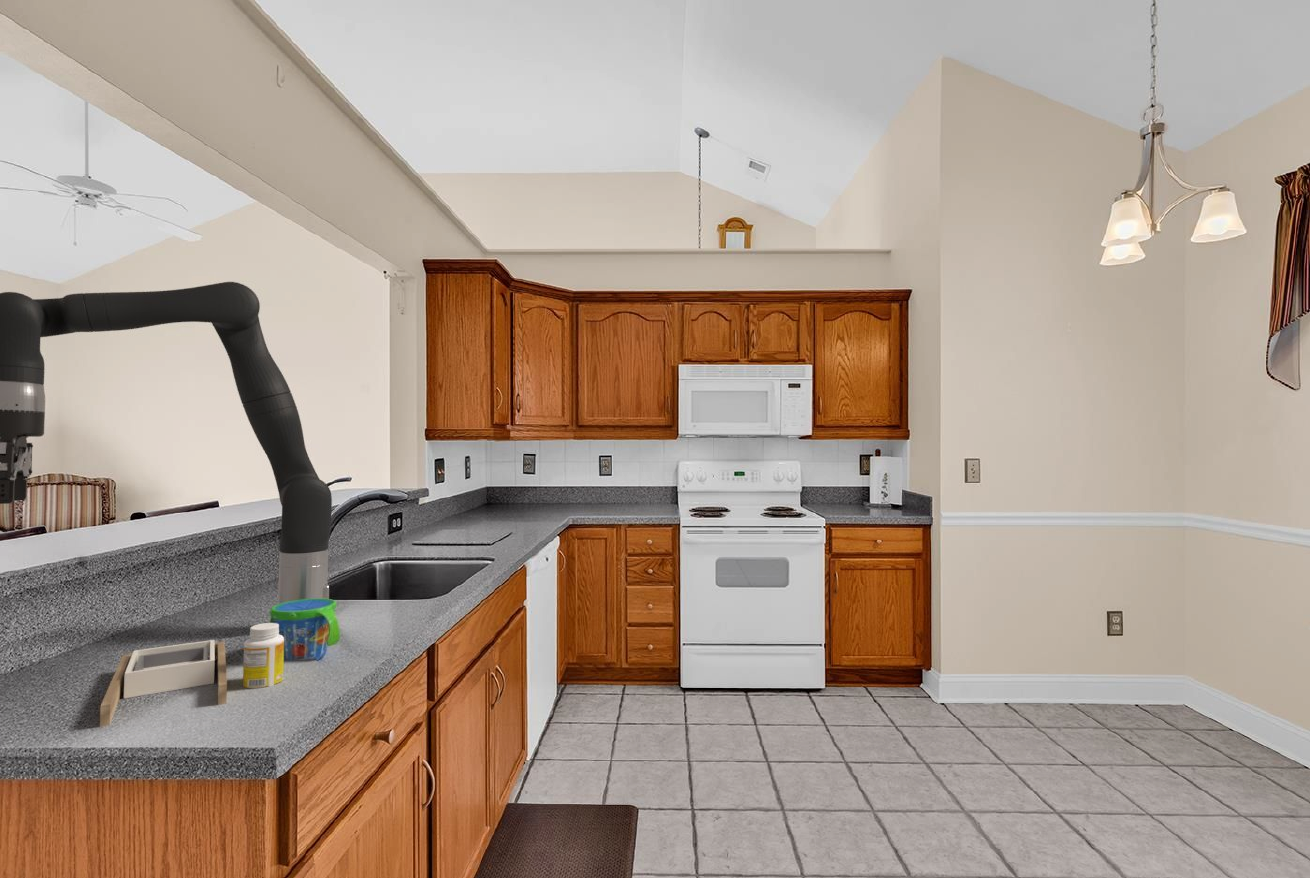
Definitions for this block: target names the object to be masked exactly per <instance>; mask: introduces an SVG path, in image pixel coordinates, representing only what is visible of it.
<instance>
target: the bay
mask: <svg viewBox="0 0 1310 878" xmlns="http://www.w3.org/2000/svg"><path fill="white" fill-rule="evenodd" d="M132 654H133V653H129V654H123V655H122V657H121V658H120V661H119V664H118V666H117V668H116V670H115V672H114V674H113V677H112V678H111V681H110V684H109V685H108V688H107V690H106V692H105V695H104V697H103V699H102V702H101V704H100V707H99V708H100V710H99V713H100V715H99V728H103V727H107V726H108V727H109V726H110V725H111V723H112V720H113V717H114V715H115V713H116V710H117V708H118V707H117V706H118V704H119V701H120V699H121V696H122V693H123V692H124V678H125V672H126V669H127V667H128V664H129V662H130V659H131V656H132ZM215 661H217V666H216V667H217V705H218V706H219V705H220V706H221V705H225V704H227V700H228V699H227V698H228V697H227V696H228V695H227V694H228V692H227V691H228V680H227V679H228V677H227V662H226V643H225V640H224V641H218V642H215Z"/></svg>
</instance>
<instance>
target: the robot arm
mask: <svg viewBox="0 0 1310 878" xmlns="http://www.w3.org/2000/svg"><path fill="white" fill-rule="evenodd" d="M260 307H261V305H260V300H259V297H258V296H257V295H256V293H255V292H254V290H252V289H251V288H250V287H248V286H247V285H245V284H243V283H240V282H236V281H224V282H218V283H217V282H216V283H213V284H207V285H201V286H195V287H189V288H180V289H170V290H154V291H152V290H151V291H126V292H125V291H124V292H121V291H120V292H118V291H117V292H116V291H115V292H113V291H111V292H84V293H82V292H81V293H71V294H66V295H65V296H63V297H59V298H58V297H57V298H40V299H39V298H37V299H36V298H34V299H33V298H32V297H30V296H28V295H26V294H23V293H20V292H15V291H5V292H3V291H2V292H0V505H4V504H6V505H7V504H12V503H14V501H16V502H17V501H25V500H26V499H27V493H28V492H27V491H28V479H29V478H30V476H31V475H32V474H33V467H32V466H33V448H34V445H33V442H28V440H27V439H28V438H29V437H34V438H36V437H38V438H39V437H43V436H44V435H45V421H46V420H45V415H46V394H45V359H44V356H43V354H42V352H41V338H47V337H54V336H60V335H68V334H74V333H94V332H95V333H96V332H98V333H99V332H100V333H101V332H116V331H127V330H135V329H137V330H138V329H142V328H147V327H154V326H160V325H165V324H166V325H167V324H175V323H193V322H194V323H196V322H197V323H209V324H211V325H212V326H213V328H214V330H215V332H216V333H217V335H218V337H219V339H220V341H221V343H222V345H223V348H224V349H225V351H226V353H227V356H228V359H229V362H230V366H231V369H232V370H231V371H232V375H233V379H234V383H235V387H236V389H237V393H238V395H239V398H240V401H241V405H242V407H243V409H244V412H245V414H246V417H247V420H248V422H249V423H250V426H251V429H252V431H253V432H254V435H255V437H256V439H257V440H258V442H259V444H260V446H261V448H262V450H263V452H264V454H265V455H266V456H267V459H268V461H269V463H270V466H271V469H272V472H273V476H274V480H275V482H276V487H277V488H276V489H277V491H278V496H279V501H280V504H281V530H280V536H279V537H280V538H279V554H278V555H279V557H278V559H279V560H278V586H277V587H278V589H277V590H278V591H277V592H278V593H277V594H278V595H277V605H278V604H281V603H284V602H289V601H294V600H302V599H316V598H324V599H330V586H329V584H328V579H329V578H328V575H329V572H328V571H329V543H330V537H331V530H332V528H331V527H332V506H333V498H332V497H333V496H332V493H331V489H330V487H329V486H328V484H327V483H326V482H324V481H323V480H321V479H320V478H319V476H318V474H317V472H316V469H315V468H314V465H313V464H312V462H311V459H310V457H309V454H308V451H307V449H306V448H307V447H306V444H305V438H304V433H303V426H302V423H301V422H302V421H301V418H300V415H299V410H298V408H297V404H296V402H295V399H294V397H293V394H292V391H291V389H290V387H289V384H288V383H287V381H286V378H285V377H284V375H283V373H282V370H280V368H279V366H278V365H277V363H276V361H275V360H274V358H273V357H272V355H271V353H270V351H269V348H268V346H267V344H266V340H265V337H264V334H263V331H262V328H261V327H262V326H261V322H260V318H259V314H260V309H261V308H260Z"/></svg>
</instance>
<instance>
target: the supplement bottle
mask: <svg viewBox="0 0 1310 878" xmlns="http://www.w3.org/2000/svg"><path fill="white" fill-rule="evenodd" d="M284 660H285V659H284V637H283V636H282V635H279V624H277V623H270V622H265V623H259V624H255V625H252V626H251V627H250V629H249V638H248V639H246V640H245V641H244V642H243V665H242V668H243V669H242V671H243V672H242V687H243V688H245V689H263V688H269V687H271V686H275V685H278V684H281V682H283V680H284V670H285V668H284V665H285V664H284V662H285V661H284Z"/></svg>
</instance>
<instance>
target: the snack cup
mask: <svg viewBox="0 0 1310 878" xmlns="http://www.w3.org/2000/svg"><path fill="white" fill-rule="evenodd" d="M337 606H338V605H337V601H336V600H334V599H331V598H329V599H324V598H316V599H302V600H294V601H289V602H284V603H281V604H278V603H277V604H276V605H273V606H272V607H271V609H270V611H269V615H270V621H269V623H277V624H279V635H282V636H283V637H284V660H289V661H292V660H296V661H297V660H305V659H311V658H315V660H316V661H319V660H321V659H322V658H323V657H324V656H326V655H327V651H328V647H332V646H334V645H336V644H337V643H338V642H339V641H340V638H341V631H340V627H339V626H340V625H339V621H338V618H337V615H336V610H337Z"/></svg>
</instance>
